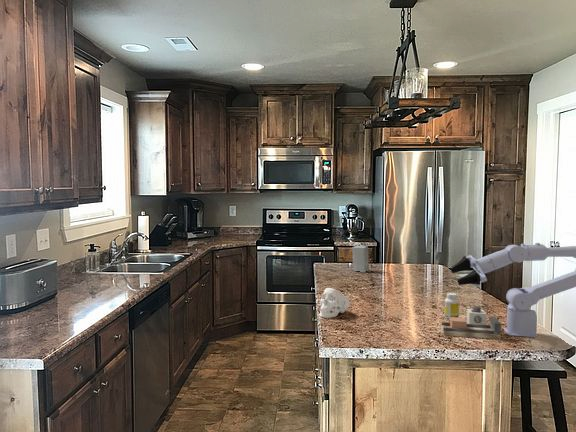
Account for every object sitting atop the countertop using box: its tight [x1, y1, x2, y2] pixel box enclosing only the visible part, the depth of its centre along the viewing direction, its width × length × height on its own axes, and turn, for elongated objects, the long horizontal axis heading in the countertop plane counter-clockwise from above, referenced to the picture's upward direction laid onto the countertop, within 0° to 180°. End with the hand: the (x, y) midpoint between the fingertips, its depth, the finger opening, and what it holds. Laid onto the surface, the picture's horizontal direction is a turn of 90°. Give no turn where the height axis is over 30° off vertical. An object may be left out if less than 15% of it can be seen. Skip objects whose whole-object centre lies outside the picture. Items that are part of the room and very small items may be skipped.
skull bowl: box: [319, 287, 351, 319], centre depth 196 cm, size 10×14×12 cm
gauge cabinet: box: [466, 308, 487, 325], centre depth 180 cm, size 6×6×6 cm
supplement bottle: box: [444, 292, 460, 320], centre depth 191 cm, size 5×5×10 cm
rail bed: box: [440, 316, 502, 340], centre depth 171 cm, size 19×9×6 cm, turn 78°
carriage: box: [449, 317, 467, 329], centre depth 172 cm, size 5×5×3 cm
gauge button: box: [472, 306, 482, 313], centre depth 181 cm, size 3×3×5 cm
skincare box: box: [351, 245, 370, 273], centre depth 294 cm, size 8×7×16 cm
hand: (454, 276), depth 174 cm, fingers open, 7 cm apart
